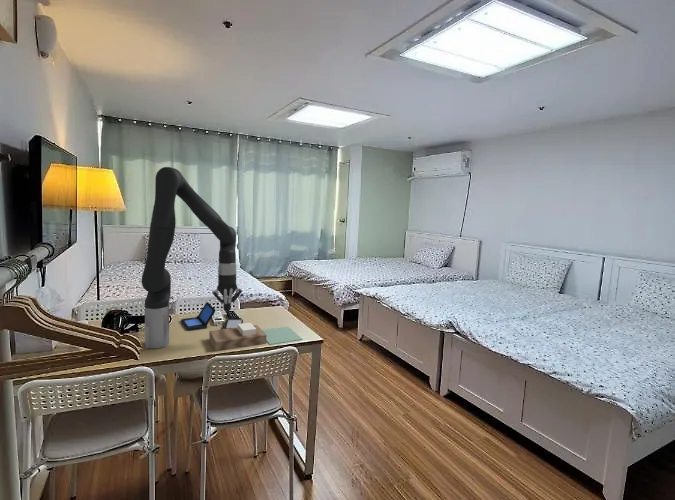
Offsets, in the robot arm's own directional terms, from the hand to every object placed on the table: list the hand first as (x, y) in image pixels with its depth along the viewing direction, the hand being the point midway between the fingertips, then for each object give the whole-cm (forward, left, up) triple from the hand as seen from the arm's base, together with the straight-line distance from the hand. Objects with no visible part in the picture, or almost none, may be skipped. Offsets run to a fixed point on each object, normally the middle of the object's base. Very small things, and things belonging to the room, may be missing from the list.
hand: (227, 311), depth 161 cm
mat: (+25, 0, -15) cm, 29 cm away
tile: (+9, 0, -9) cm, 13 cm away
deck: (+5, 0, -15) cm, 15 cm away
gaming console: (+8, +19, -15) cm, 26 cm away
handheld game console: (-7, +29, -15) cm, 34 cm away
